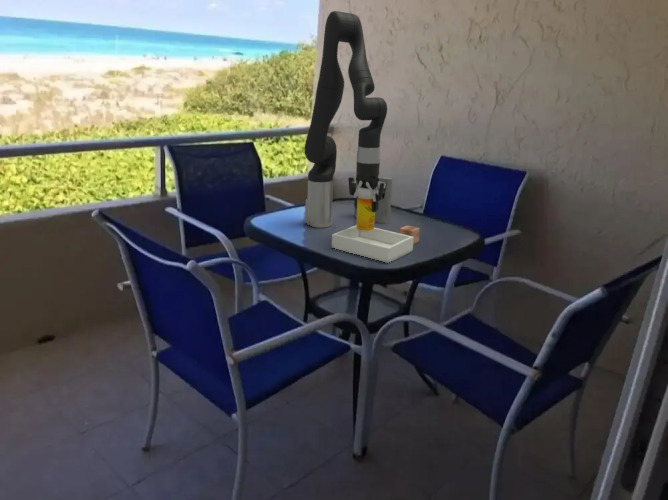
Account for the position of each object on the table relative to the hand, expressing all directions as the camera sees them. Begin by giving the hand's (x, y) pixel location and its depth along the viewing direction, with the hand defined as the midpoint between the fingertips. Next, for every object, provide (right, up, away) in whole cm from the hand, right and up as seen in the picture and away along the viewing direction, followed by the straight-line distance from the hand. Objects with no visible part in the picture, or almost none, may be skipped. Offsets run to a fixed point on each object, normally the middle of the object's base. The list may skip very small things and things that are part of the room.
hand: (366, 209), depth 195 cm
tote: (+2, -13, 0) cm, 14 cm away
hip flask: (+4, -2, +34) cm, 34 cm away
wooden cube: (+16, -11, +9) cm, 21 cm away
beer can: (0, -7, +3) cm, 7 cm away
